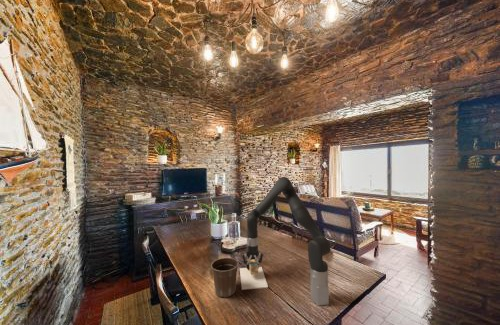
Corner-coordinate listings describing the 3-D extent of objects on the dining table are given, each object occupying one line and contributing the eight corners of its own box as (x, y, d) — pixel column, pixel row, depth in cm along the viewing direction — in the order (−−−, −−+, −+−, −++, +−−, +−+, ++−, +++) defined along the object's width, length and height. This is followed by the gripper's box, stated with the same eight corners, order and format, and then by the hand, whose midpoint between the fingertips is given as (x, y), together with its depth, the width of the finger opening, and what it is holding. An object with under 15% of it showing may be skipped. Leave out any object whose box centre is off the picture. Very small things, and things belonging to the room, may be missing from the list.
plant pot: (205, 291, 116) (205, 263, 117) (227, 279, 128) (227, 255, 128) (222, 304, 105) (221, 274, 105) (244, 291, 116) (244, 263, 116)
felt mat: (268, 287, 119) (268, 286, 119) (241, 289, 117) (241, 288, 117) (261, 267, 143) (261, 266, 143) (239, 268, 141) (239, 268, 141)
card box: (254, 266, 136) (254, 258, 136) (258, 273, 127) (258, 265, 127) (247, 267, 134) (247, 259, 135) (250, 274, 126) (250, 266, 126)
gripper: (262, 240, 135) (262, 265, 135) (241, 242, 134) (241, 266, 134) (264, 245, 128) (264, 271, 128) (242, 246, 126) (242, 272, 126)
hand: (252, 269), depth 131 cm, fingers closed on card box, 5 cm apart
